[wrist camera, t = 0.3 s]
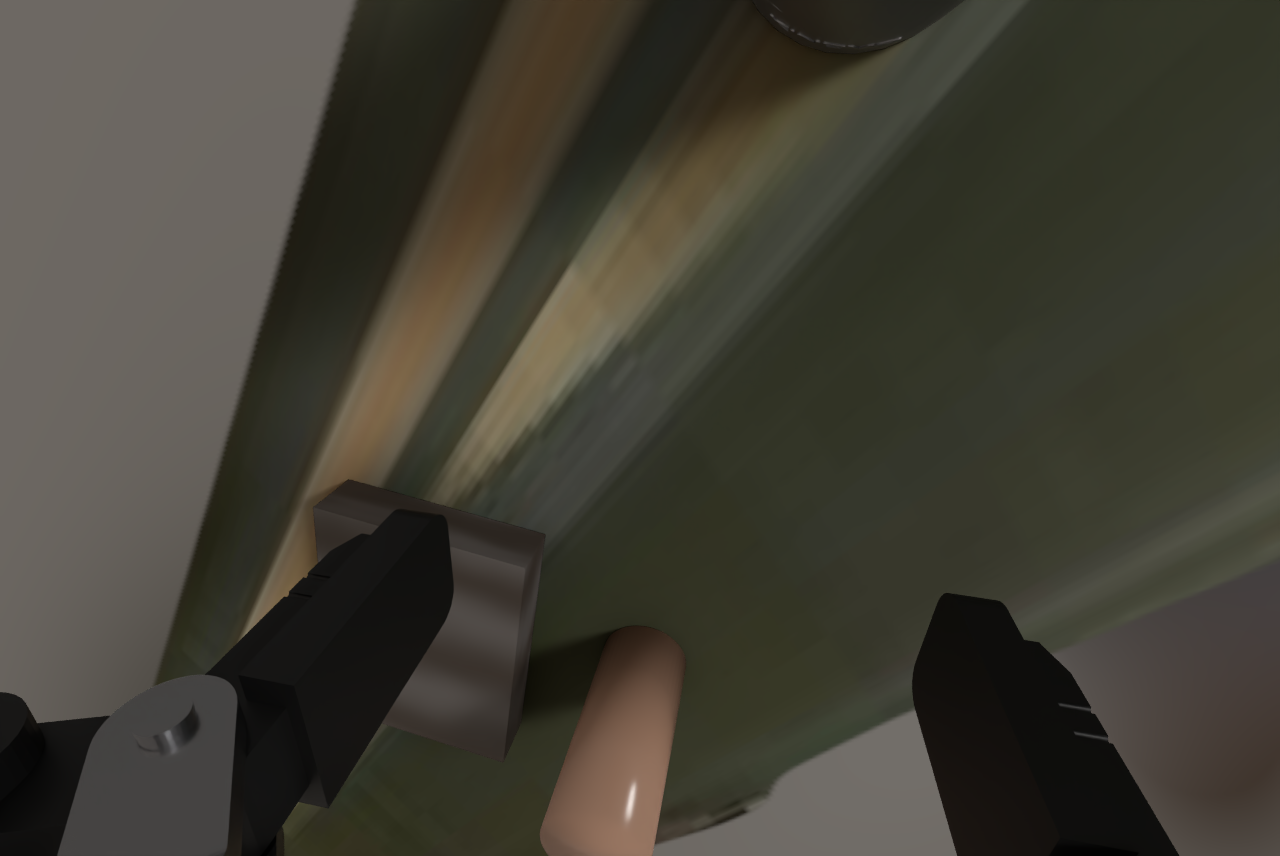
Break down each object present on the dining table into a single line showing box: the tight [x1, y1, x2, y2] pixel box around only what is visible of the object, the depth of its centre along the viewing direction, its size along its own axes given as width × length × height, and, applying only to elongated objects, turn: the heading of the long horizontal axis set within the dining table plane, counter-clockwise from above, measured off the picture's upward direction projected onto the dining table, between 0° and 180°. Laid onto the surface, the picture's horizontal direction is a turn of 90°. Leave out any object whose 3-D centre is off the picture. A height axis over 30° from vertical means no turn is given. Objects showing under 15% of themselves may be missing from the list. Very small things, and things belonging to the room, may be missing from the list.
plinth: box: [313, 480, 545, 762], centre depth 36 cm, size 16×12×3 cm
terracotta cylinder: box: [540, 626, 686, 856], centre depth 31 cm, size 5×5×11 cm
